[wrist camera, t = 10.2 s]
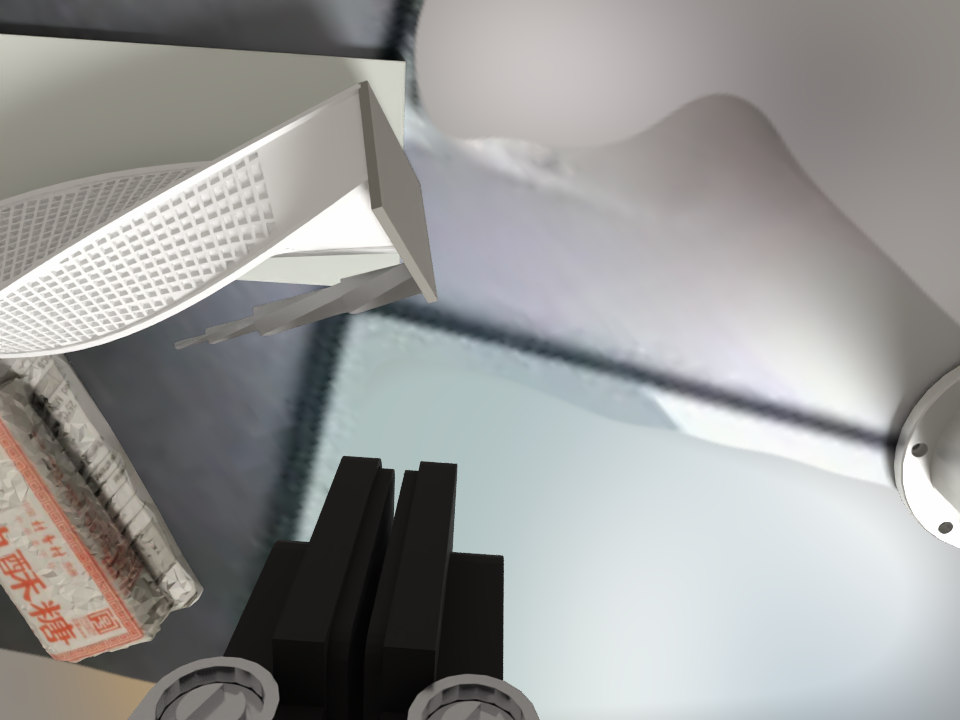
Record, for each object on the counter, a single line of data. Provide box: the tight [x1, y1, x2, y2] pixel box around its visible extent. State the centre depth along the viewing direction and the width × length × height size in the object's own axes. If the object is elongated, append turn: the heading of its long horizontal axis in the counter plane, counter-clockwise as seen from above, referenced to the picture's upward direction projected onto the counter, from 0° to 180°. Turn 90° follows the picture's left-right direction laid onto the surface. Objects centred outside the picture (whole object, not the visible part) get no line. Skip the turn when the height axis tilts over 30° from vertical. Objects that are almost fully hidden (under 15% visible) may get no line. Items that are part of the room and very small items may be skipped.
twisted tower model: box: [0, 81, 438, 358], centre depth 39 cm, size 8×8×28 cm
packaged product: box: [0, 353, 203, 663], centre depth 46 cm, size 18×5×10 cm
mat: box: [0, 34, 406, 286], centre depth 41 cm, size 23×11×1 cm, turn 86°
